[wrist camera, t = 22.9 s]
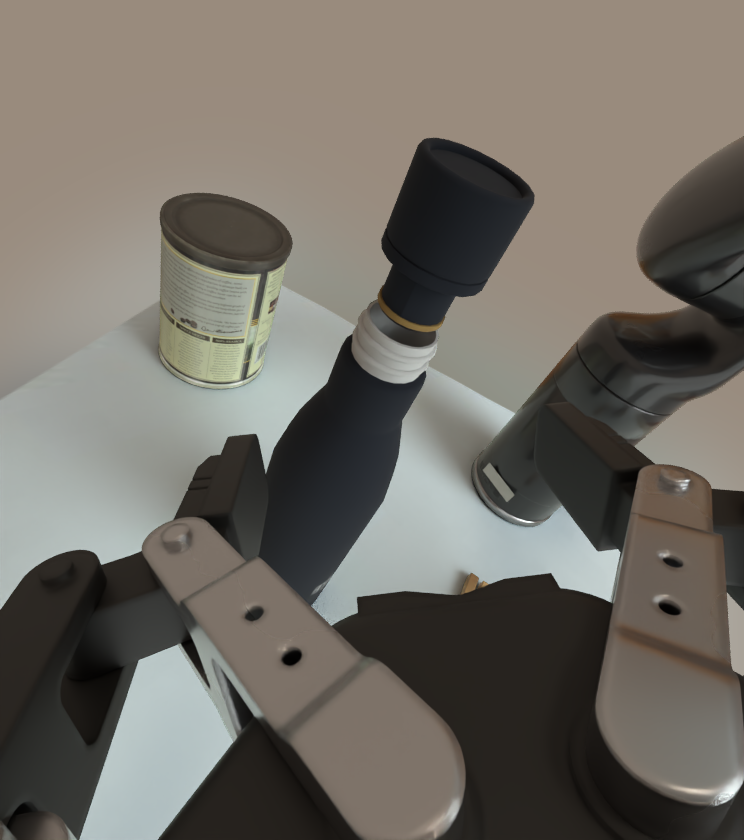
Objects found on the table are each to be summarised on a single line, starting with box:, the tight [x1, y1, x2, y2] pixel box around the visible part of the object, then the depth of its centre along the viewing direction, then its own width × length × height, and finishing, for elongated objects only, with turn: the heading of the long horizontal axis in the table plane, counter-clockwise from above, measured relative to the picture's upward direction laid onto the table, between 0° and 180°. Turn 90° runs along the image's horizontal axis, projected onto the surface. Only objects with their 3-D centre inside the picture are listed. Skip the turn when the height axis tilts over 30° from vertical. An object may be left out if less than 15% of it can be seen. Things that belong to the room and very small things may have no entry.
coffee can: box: [158, 193, 293, 389], centre depth 42 cm, size 10×10×14 cm
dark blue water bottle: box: [258, 138, 534, 606], centre depth 24 cm, size 6×6×30 cm
